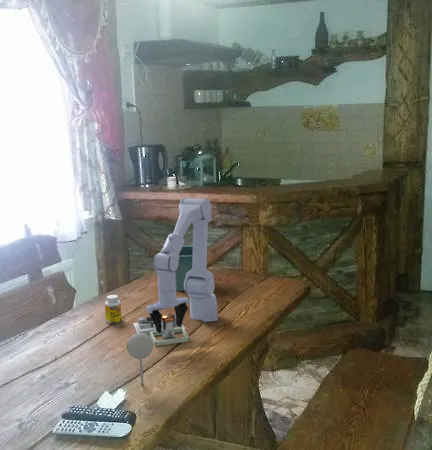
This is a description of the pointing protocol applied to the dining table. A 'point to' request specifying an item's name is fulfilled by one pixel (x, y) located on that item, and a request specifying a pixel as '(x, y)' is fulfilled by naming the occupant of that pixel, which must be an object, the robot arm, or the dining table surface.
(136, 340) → the lollipop
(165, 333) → the pin
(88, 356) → the dining table surface
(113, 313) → the supplement bottle
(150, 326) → the pulley board
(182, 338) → the tray
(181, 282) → the flower pot
